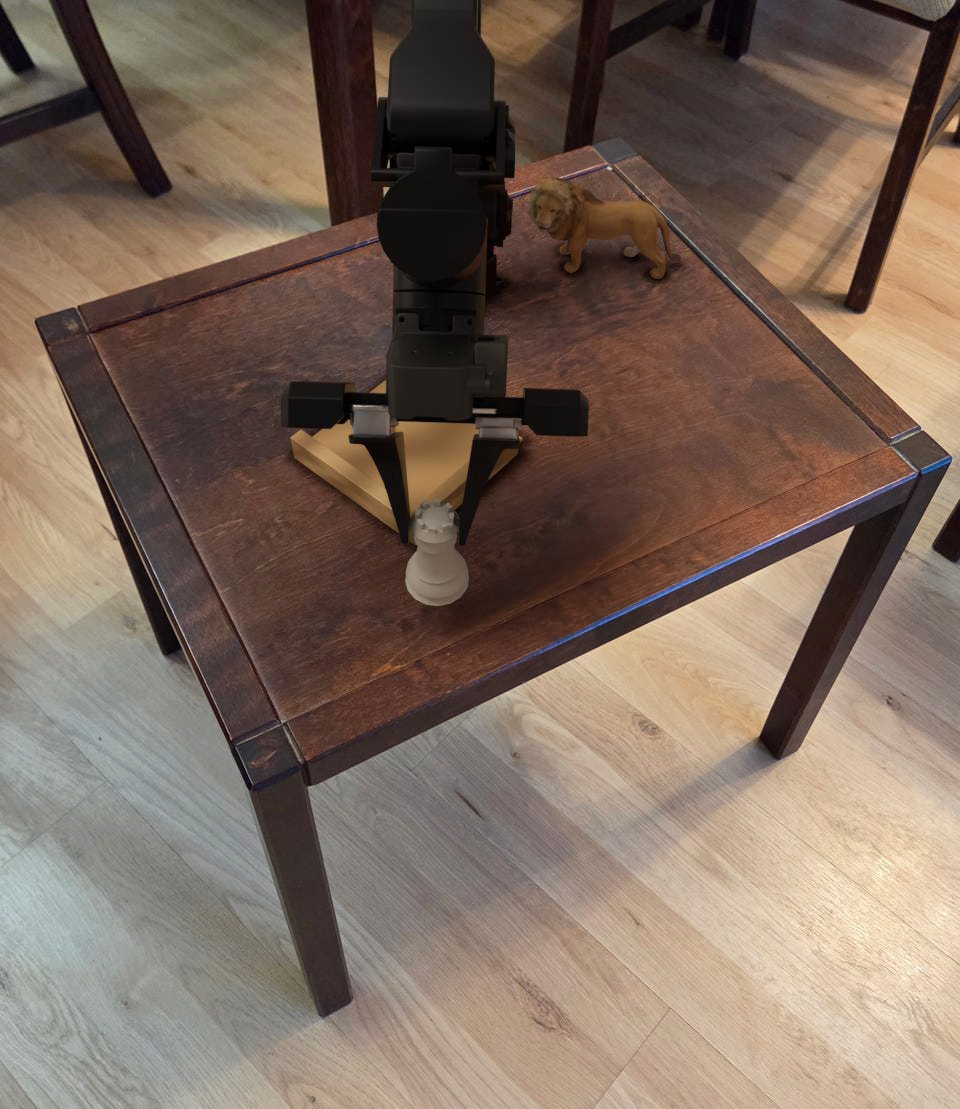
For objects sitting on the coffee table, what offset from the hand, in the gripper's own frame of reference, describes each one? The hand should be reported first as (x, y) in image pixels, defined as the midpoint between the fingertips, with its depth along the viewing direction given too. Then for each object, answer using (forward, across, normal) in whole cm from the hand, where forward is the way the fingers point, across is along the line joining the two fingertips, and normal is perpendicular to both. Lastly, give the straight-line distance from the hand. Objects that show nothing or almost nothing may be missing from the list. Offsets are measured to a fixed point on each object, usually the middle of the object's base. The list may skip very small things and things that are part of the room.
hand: (433, 544), depth 68 cm
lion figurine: (-21, +13, +36) cm, 44 cm away
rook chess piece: (+4, 0, +6) cm, 7 cm away
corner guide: (-4, -3, +19) cm, 20 cm away
